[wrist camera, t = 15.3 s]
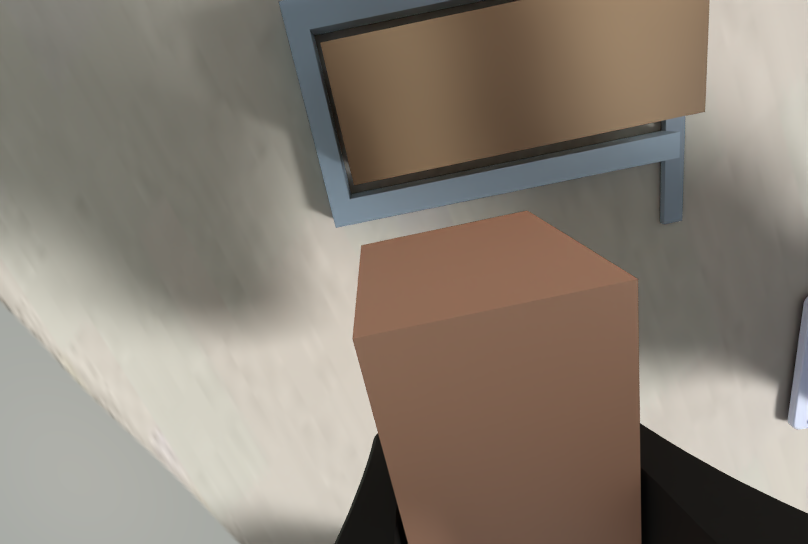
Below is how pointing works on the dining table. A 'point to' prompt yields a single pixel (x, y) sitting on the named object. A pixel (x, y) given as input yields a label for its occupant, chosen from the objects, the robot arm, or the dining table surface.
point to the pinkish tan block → (503, 383)
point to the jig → (370, 3)
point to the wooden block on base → (513, 79)
